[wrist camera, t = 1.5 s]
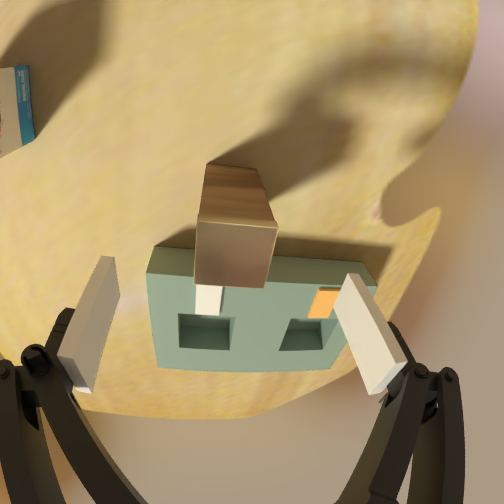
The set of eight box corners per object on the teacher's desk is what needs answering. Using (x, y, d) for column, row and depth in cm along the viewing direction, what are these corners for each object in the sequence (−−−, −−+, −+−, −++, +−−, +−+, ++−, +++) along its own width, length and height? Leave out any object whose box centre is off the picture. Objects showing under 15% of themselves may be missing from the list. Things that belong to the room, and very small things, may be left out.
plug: (206, 163, 24) (197, 220, 15) (256, 168, 25) (278, 228, 16) (201, 208, 27) (193, 284, 18) (248, 213, 28) (264, 288, 19)
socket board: (154, 246, 29) (145, 275, 25) (362, 262, 33) (379, 288, 29) (161, 341, 37) (157, 369, 33) (322, 345, 42) (330, 371, 38)
